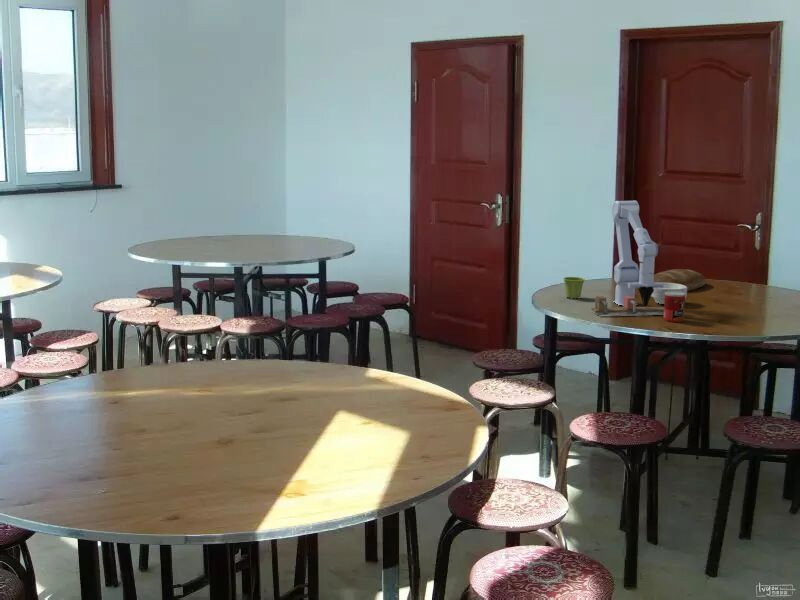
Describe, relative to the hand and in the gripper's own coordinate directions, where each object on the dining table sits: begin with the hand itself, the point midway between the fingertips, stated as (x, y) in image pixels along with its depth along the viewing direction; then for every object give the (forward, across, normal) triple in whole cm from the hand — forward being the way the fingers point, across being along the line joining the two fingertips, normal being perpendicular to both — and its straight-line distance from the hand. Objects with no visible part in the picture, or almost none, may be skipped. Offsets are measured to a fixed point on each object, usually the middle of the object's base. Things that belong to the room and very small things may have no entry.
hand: (645, 305), depth 407 cm
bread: (+3, +35, +56) cm, 66 cm away
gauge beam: (+3, -7, -2) cm, 8 cm away
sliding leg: (+1, -7, -3) cm, 7 cm away
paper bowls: (+3, +16, +17) cm, 24 cm away
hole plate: (+3, -7, -6) cm, 9 cm away
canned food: (+3, +5, -18) cm, 19 cm away
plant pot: (+3, -21, +33) cm, 39 cm away
